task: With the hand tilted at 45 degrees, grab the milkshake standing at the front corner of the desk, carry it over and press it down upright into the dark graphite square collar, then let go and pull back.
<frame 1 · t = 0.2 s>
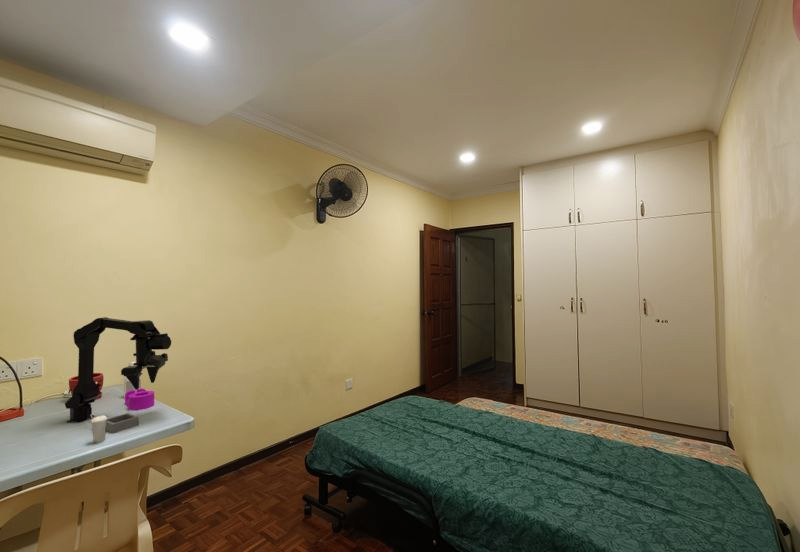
hand: (145, 385, 151), 14 cm above the table, tool pointing down, fingers open, 9 cm apart
collar: (120, 427, 142), on the table
milkshake: (98, 441, 130), on the table
tape dispenser: (139, 406, 168), on the table
plant pot: (86, 399, 177), on the table
spray bottle: (132, 397, 181), on the table
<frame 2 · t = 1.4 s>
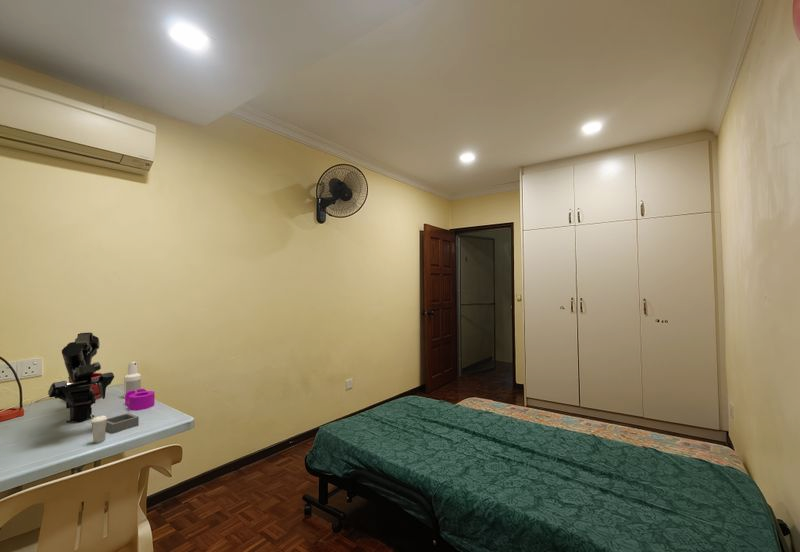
hand: (89, 401, 134), 13 cm above the table, tool tilted 45°, fingers open, 9 cm apart
nothing on the table moved.
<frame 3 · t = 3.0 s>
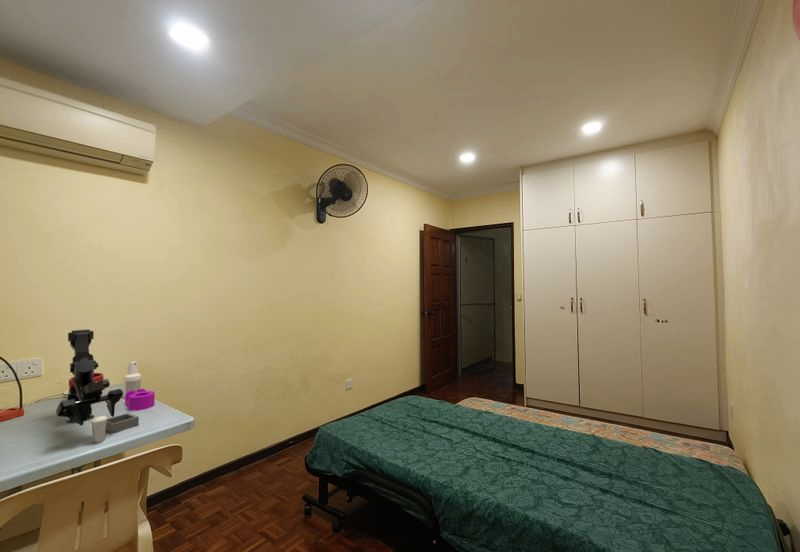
hand: (98, 420, 130), 8 cm above the table, tool tilted 45°, fingers open, 9 cm apart
nothing on the table moved.
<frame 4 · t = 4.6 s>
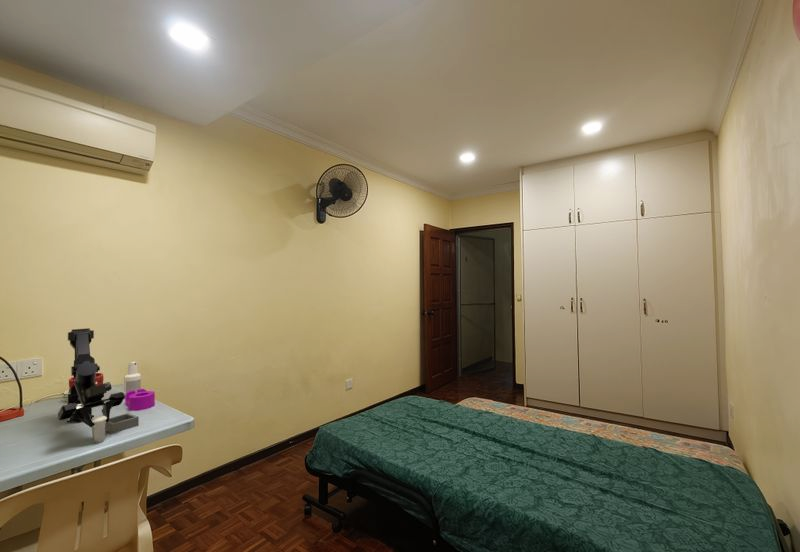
hand: (100, 424, 129), 7 cm above the table, tool tilted 45°, fingers closed on milkshake, 4 cm apart
milkshake: (98, 441, 130), on the table, touching gripper
everything else where it was.
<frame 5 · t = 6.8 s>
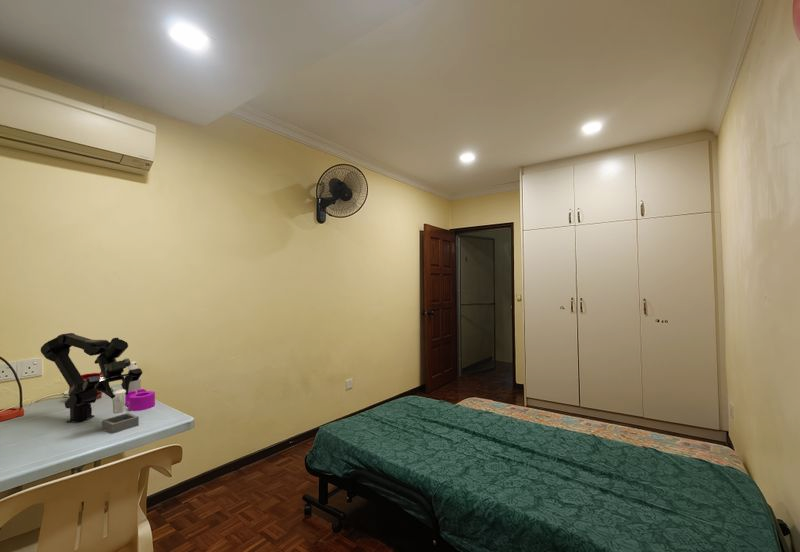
hand: (120, 396, 141), 13 cm above the table, tool tilted 45°, fingers closed on milkshake, 4 cm apart
milkshake: (117, 412, 142), point 6 cm above the table, touching gripper
everything else where it was.
when the fingers open (7 cm above the table, at t = 9.2 s): milkshake stays where it is, resting in collar.
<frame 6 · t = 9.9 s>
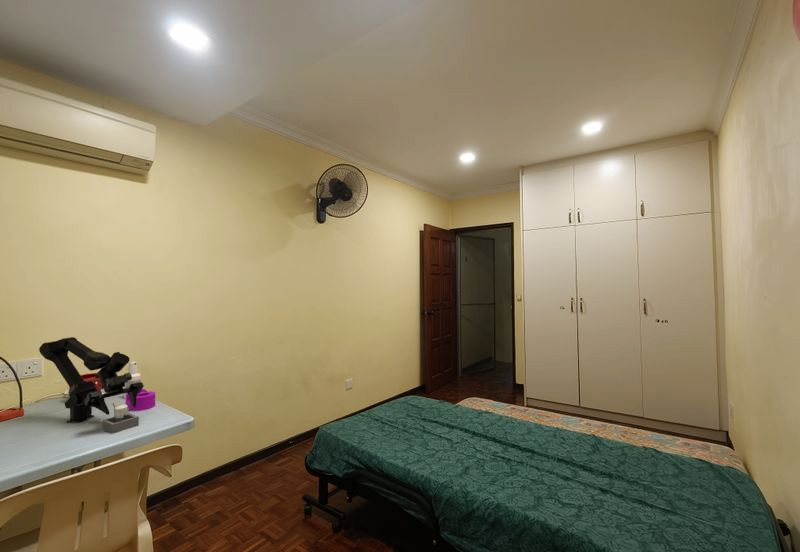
hand: (122, 410, 142), 7 cm above the table, tool tilted 45°, fingers open, 9 cm apart
milkshake: (119, 427, 142), resting in collar
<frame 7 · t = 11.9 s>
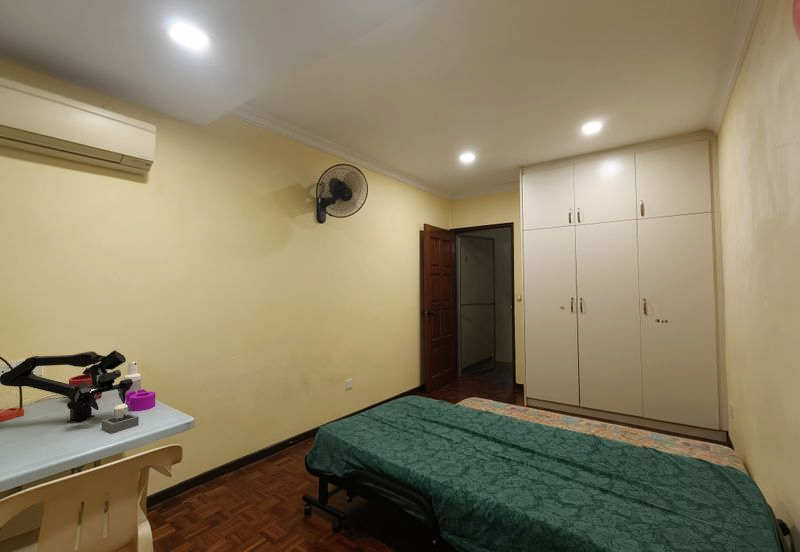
hand: (111, 406, 146), 7 cm above the table, tool tilted 45°, fingers open, 9 cm apart
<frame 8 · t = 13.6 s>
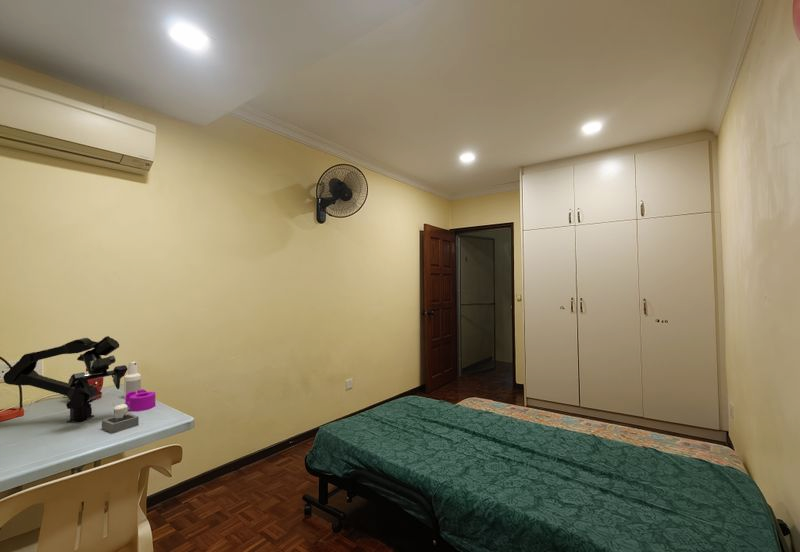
hand: (105, 391, 146), 14 cm above the table, tool tilted 45°, fingers open, 9 cm apart
at the end: milkshake 0.3 cm off-centre on the collar, point 0.0 cm above the collar's base; milkshake tilted 0°; the gripper is holding nothing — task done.
